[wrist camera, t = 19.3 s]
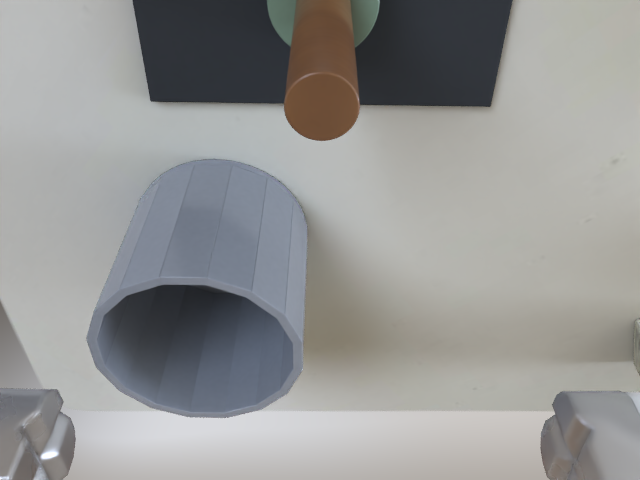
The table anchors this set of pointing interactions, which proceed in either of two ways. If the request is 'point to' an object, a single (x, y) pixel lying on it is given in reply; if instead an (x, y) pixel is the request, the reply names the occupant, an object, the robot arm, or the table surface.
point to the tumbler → (206, 293)
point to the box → (637, 345)
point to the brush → (322, 61)
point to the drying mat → (371, 54)
